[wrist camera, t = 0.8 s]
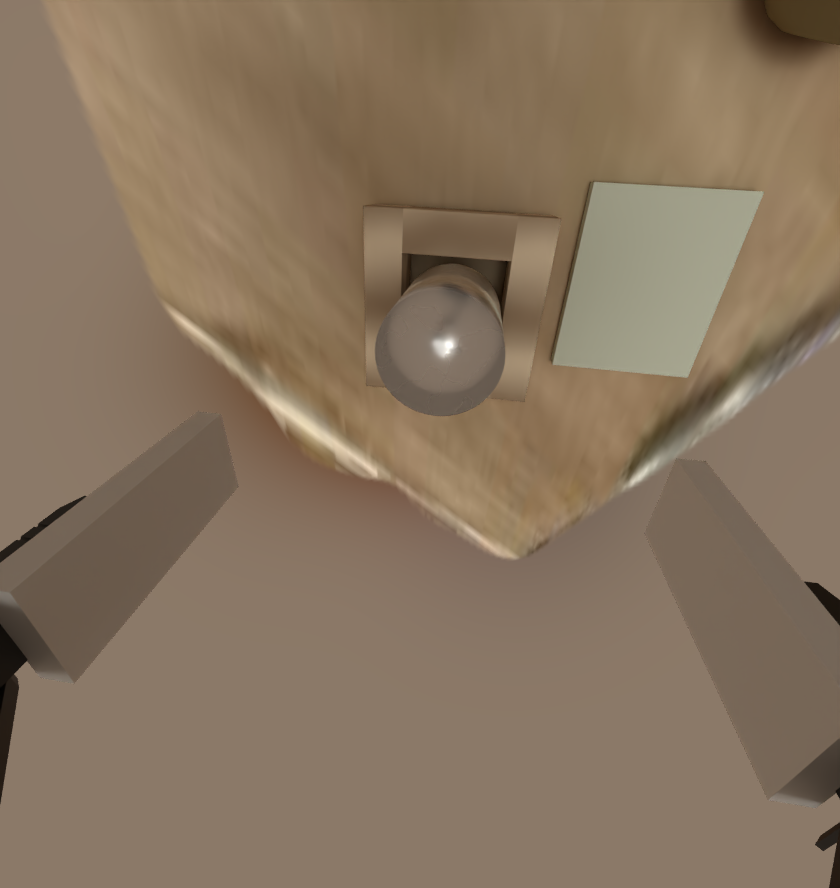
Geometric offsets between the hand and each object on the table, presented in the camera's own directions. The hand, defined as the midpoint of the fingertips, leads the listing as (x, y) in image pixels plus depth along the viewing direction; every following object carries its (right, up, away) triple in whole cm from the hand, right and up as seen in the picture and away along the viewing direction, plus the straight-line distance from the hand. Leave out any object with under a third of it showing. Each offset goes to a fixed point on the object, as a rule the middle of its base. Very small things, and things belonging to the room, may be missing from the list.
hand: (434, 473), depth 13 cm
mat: (+15, +12, +17) cm, 26 cm away
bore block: (+2, +12, +19) cm, 23 cm away
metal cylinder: (+2, +12, +19) cm, 23 cm away
